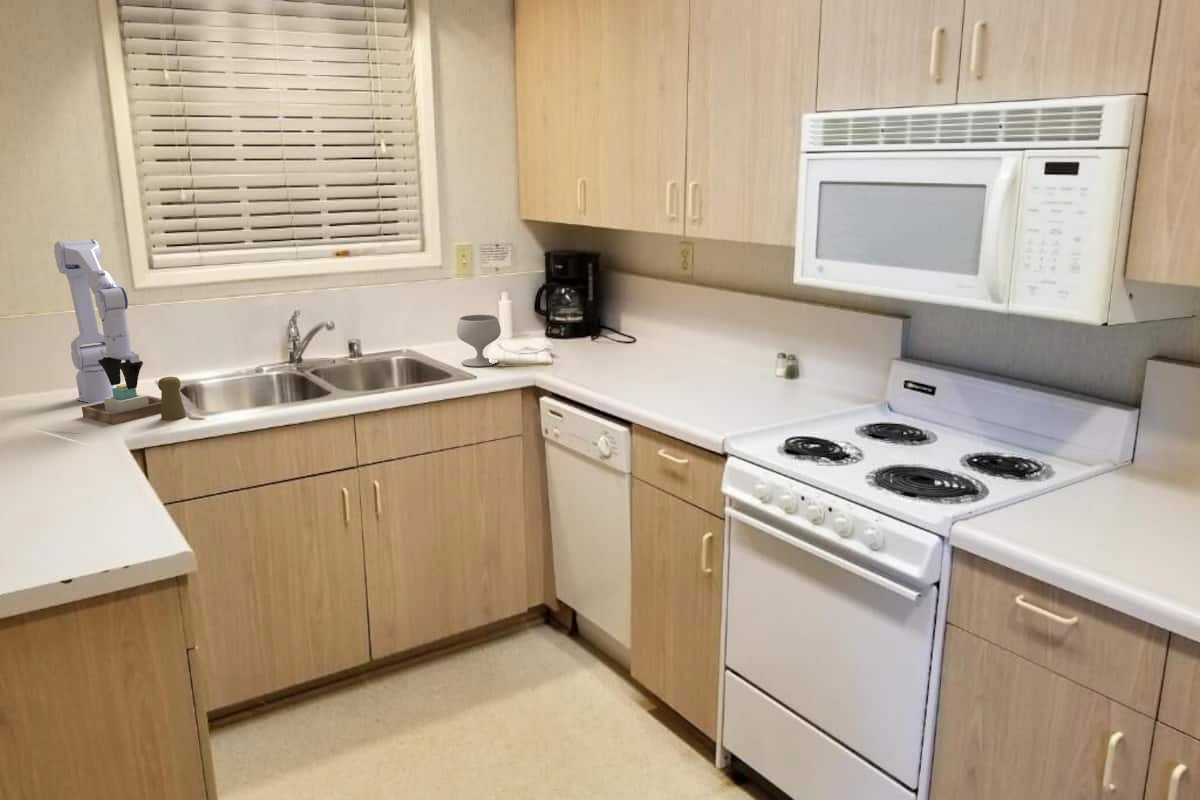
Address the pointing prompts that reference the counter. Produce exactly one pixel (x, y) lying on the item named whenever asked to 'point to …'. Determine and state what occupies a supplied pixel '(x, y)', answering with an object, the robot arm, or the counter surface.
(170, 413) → the olive pepper mill
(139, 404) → the frame
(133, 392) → the plug
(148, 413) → the parts box
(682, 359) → the counter surface
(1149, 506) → the counter surface
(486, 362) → the chalice
